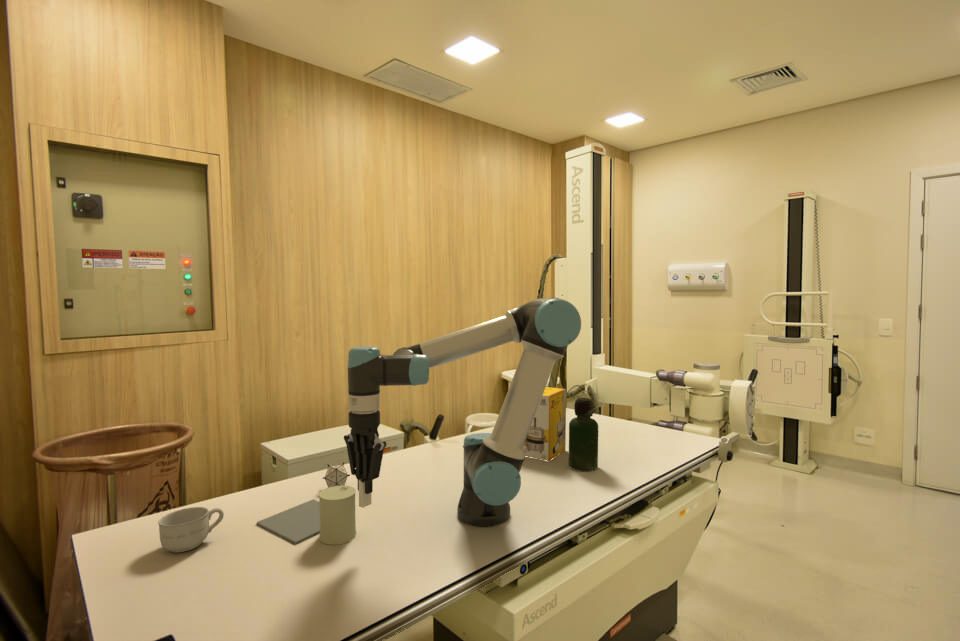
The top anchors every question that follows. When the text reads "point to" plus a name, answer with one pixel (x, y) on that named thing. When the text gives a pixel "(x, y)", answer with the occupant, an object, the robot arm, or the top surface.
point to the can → (337, 515)
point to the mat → (295, 522)
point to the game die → (336, 475)
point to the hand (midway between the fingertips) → (365, 504)
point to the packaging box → (548, 426)
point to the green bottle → (583, 437)
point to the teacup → (186, 528)
